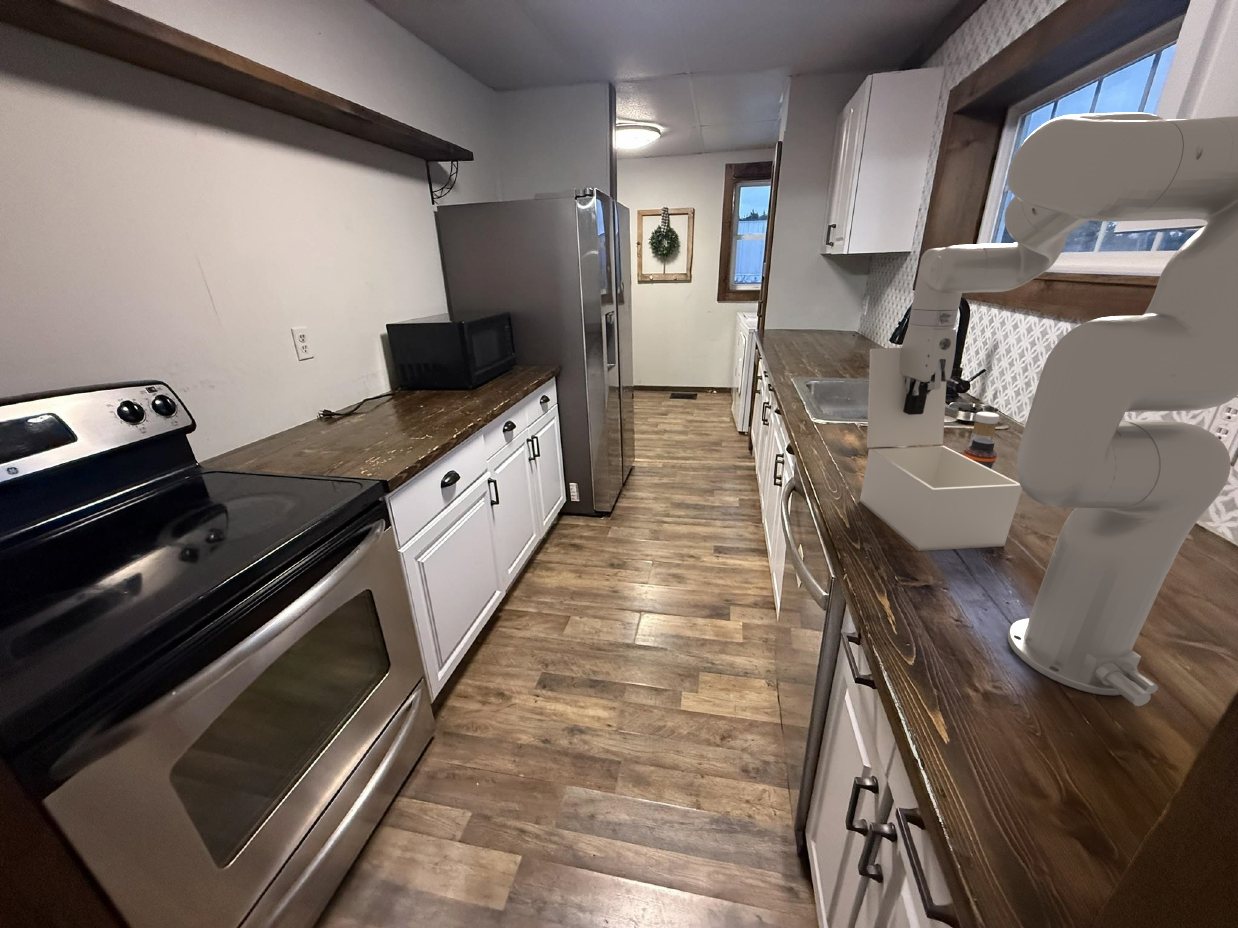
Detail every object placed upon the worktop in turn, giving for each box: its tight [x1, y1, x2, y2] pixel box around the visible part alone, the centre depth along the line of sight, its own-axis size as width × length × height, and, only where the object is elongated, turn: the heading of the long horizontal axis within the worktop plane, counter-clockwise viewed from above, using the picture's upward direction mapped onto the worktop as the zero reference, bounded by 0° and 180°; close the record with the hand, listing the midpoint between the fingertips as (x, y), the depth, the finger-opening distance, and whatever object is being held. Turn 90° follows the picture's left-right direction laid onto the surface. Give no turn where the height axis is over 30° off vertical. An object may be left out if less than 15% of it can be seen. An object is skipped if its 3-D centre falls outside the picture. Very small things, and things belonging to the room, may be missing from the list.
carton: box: [859, 445, 1023, 552], centre depth 95 cm, size 20×16×12 cm
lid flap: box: [866, 347, 947, 449], centre depth 101 cm, size 20×16×1 cm
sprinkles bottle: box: [967, 411, 1000, 447], centre depth 120 cm, size 5×5×13 cm
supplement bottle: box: [962, 438, 998, 470], centre depth 109 cm, size 6×6×11 cm
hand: (912, 413), depth 99 cm, fingers closed
